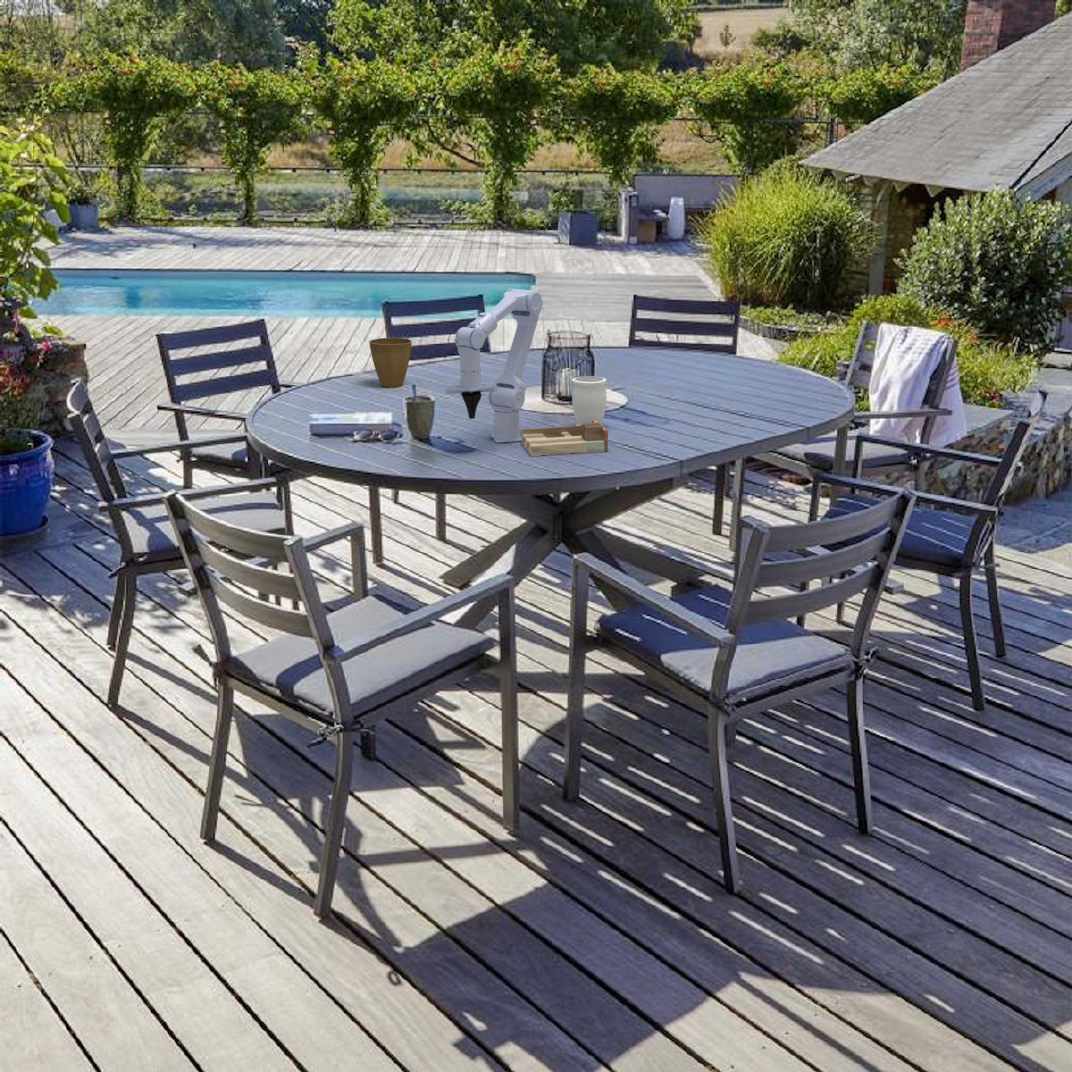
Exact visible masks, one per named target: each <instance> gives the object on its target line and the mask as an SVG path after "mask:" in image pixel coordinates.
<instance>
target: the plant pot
mask: <svg viewBox="0 0 1072 1072" xmlns="http://www.w3.org/2000/svg"><path fill="white" fill-rule="evenodd" d="M368 343H369V349H370V353H371V358H372V362H373V366H374V369H375V370H374V371H375V373H376V376H377V378H378V381H379V383H380V386H381V387H383V386H385V387H384V388H389V387H393V388H400V387H403V384H404V382H405V379H406V375H407V371H408V368H409V363H410V358H411V354H412V353H411V350H412V343H413V340H412V339H410V338H404V337H382V338H380V337H379V338H375V339H370V340H369V341H368ZM399 386H400V387H399Z"/></svg>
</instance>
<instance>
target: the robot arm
mask: <svg viewBox="0 0 1072 1072" xmlns="http://www.w3.org/2000/svg"><path fill="white" fill-rule="evenodd" d="M541 295H542V294H541V293H540V291H539V290H537V289H533V290H530V289H518V288H514V287H510V288H508V289H507V290H506V292H504V293H503V296H502V299H501V300H500V301H499V302H498V303H497V304H496V305H495V306H494V307H493V308H492V309H491V311H489V312H487V311H486V312H485V311H484V312H480V313H479V314H478V315H479V316H478V317H476V318H475V319H474V320H473V321H470V322H469V325H467V326H462V327H460V328H459V329H458V330H457V331H456V333H455V337H454V343H455V346H456V347H457V353H458V354H459V371H460V372H459V374H460V375H459V377H460V384H459V385H458V384H457V385H450V386H444V394H445V395H446V396H448V395H453V394H455V395H457V394H460V395H461V397H462V399H463V402H464V405H465V407H466V410H467V414H468V415H467V416H468V418H469V420H472V419H473V420H474V419H476V411H477V408H478V405H479V403H480V400H481V398H482V393H488V394H487V395H488V396H487V400H488V403H489V405H490V406H492V408H491V409H492V410H494V413H493V433H491V434H490V436H491V437H492V438H493V441H495V443H506V442H507V443H510V442H511V443H512V442H522V436H521V435H520V410H521V411H522V408H523V406H524V405H525V400H526V390H527V387H526V385H525V384H524V382H523V381H522V376H523V373H524V370H525V367H526V362H527V359H528V356H529V353H530V348H531V345H532V342H533V339H534V336H535V331H536V329H537V324H538V322H539V318H540V316H541V312H542V308H543V305H544V301H543V298H542V296H541ZM509 314H510V315H511V317H512V318H513V319H514V320H515V321H516V323H517V325H516V329H515V333H514V336H513V339H512V343H511V346H510V350H509V353H508V356H507V360H506V363H505V365H504V366H505V367H504V369H503V373H502V374H501V376H500V375H499V376H498V377H497V378H496V379H494V382H493V383H482V380H481V379H482V378H481V377H482V376H481V374H482V373H481V348H482V347H484V344H485V341H486V340H487V337H488V336H490V334H492V333H493V332H495V330H496V329H497V327H498V322H500V321H501V320H503V319H504V318H505V317H506V316H508V315H509Z"/></svg>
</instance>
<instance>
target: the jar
mask: <svg viewBox="0 0 1072 1072" xmlns="http://www.w3.org/2000/svg"><path fill="white" fill-rule="evenodd" d="M571 381H572V384H573V387H572V395H571V397H572V399H571V400H572V401H571V402H572V407H573V414H574V418H575V420H576V424H575V426H582V423H592V420H596V421H597V422H599V423H600V424H601V425H602V426H603V423H602V421H603V419H604V417H605V412H606V406H607V389H606V386H605V385H606V384H607V378H605V377H602V376H597V375H596V376H595V375H584V376H577V377H573V378H572V380H571ZM603 427H604V426H603Z"/></svg>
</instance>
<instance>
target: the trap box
mask: <svg viewBox="0 0 1072 1072" xmlns="http://www.w3.org/2000/svg"><path fill="white" fill-rule="evenodd" d="M592 423H597V421H596V420H592ZM521 438H522V441H521V445H522V444H523V445H524V446H523V445H522V446H523V448H524V449H525V448H526V449H525V450H526V451H527V453H528V454H529V453H530V454H531V455H530V454H529V455H530V456H531V457H541V455H546V456H550V455H549V454H561V455H571V453H577V454H590V453H606V452H607V453H608V451H609V450H608V449H609V445H608V443H609V442H608V441H609V439H608V438H609V430H608V429H606V428H605V427H604V426H603V440H597V441H585V440H584V439H583V438H582V426H576V425H570V426H554V427H553V426H552V427H551V426H550V427H536V428H535V427H534V428H521Z"/></svg>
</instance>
